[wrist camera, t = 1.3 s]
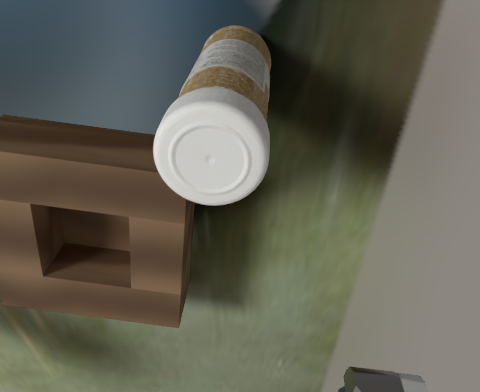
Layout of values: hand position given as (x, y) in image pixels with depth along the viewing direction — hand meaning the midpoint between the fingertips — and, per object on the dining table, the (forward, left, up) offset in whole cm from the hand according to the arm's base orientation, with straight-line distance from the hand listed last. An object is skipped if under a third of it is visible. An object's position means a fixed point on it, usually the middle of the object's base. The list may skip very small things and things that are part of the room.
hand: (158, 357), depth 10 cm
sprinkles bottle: (0, 0, -22) cm, 22 cm away
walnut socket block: (+13, -9, -22) cm, 27 cm away
